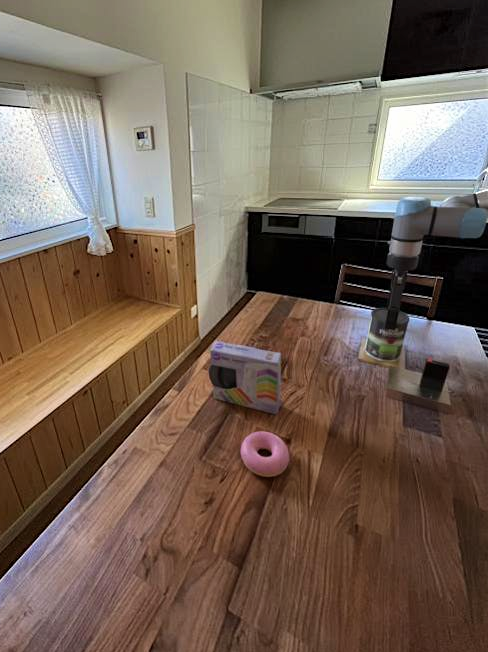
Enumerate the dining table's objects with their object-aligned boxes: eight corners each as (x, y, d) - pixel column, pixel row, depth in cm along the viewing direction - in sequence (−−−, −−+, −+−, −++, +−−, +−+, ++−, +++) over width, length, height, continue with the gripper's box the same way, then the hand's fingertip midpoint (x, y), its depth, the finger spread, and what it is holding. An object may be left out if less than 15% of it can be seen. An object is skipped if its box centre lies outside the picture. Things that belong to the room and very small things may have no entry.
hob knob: (441, 387, 91) (449, 362, 87) (442, 391, 89) (450, 366, 86) (419, 382, 93) (426, 357, 90) (419, 385, 92) (426, 361, 88)
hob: (446, 388, 95) (449, 379, 93) (450, 414, 86) (453, 405, 85) (387, 373, 102) (389, 365, 100) (385, 396, 93) (387, 387, 92)
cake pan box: (209, 398, 96) (206, 347, 89) (215, 387, 100) (213, 337, 93) (276, 417, 89) (280, 363, 81) (280, 404, 93) (284, 351, 85)
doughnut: (290, 445, 80) (291, 432, 79) (286, 487, 71) (288, 474, 69) (245, 434, 84) (245, 422, 82) (236, 473, 75) (235, 460, 73)
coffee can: (404, 363, 104) (414, 324, 98) (368, 360, 106) (376, 322, 101) (394, 345, 113) (403, 308, 107) (361, 342, 115) (367, 306, 110)
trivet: (404, 349, 112) (405, 347, 111) (404, 371, 102) (405, 369, 101) (361, 340, 118) (362, 338, 118) (357, 360, 108) (357, 358, 108)
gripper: (390, 240, 107) (379, 300, 116) (386, 266, 88) (374, 335, 96) (418, 242, 103) (405, 303, 112) (420, 270, 84) (404, 341, 93)
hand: (390, 318), depth 104 cm, fingers open, 13 cm apart
